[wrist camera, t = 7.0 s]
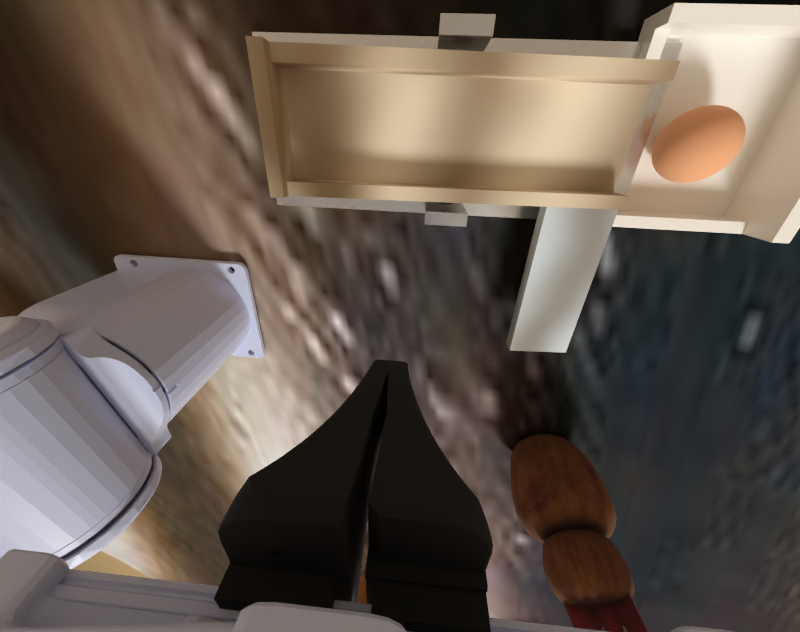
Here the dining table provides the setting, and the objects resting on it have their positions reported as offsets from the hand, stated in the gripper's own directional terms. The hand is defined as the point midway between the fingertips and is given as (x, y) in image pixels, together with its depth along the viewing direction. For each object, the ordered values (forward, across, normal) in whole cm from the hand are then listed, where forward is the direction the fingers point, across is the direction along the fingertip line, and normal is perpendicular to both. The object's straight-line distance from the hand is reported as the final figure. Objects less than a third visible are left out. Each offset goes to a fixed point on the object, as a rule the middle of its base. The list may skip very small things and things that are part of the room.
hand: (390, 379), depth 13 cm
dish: (+10, -14, -10) cm, 20 cm away
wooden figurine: (+10, -13, +15) cm, 22 cm away
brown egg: (+8, -13, -9) cm, 18 cm away
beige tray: (+7, -2, -5) cm, 9 cm away
